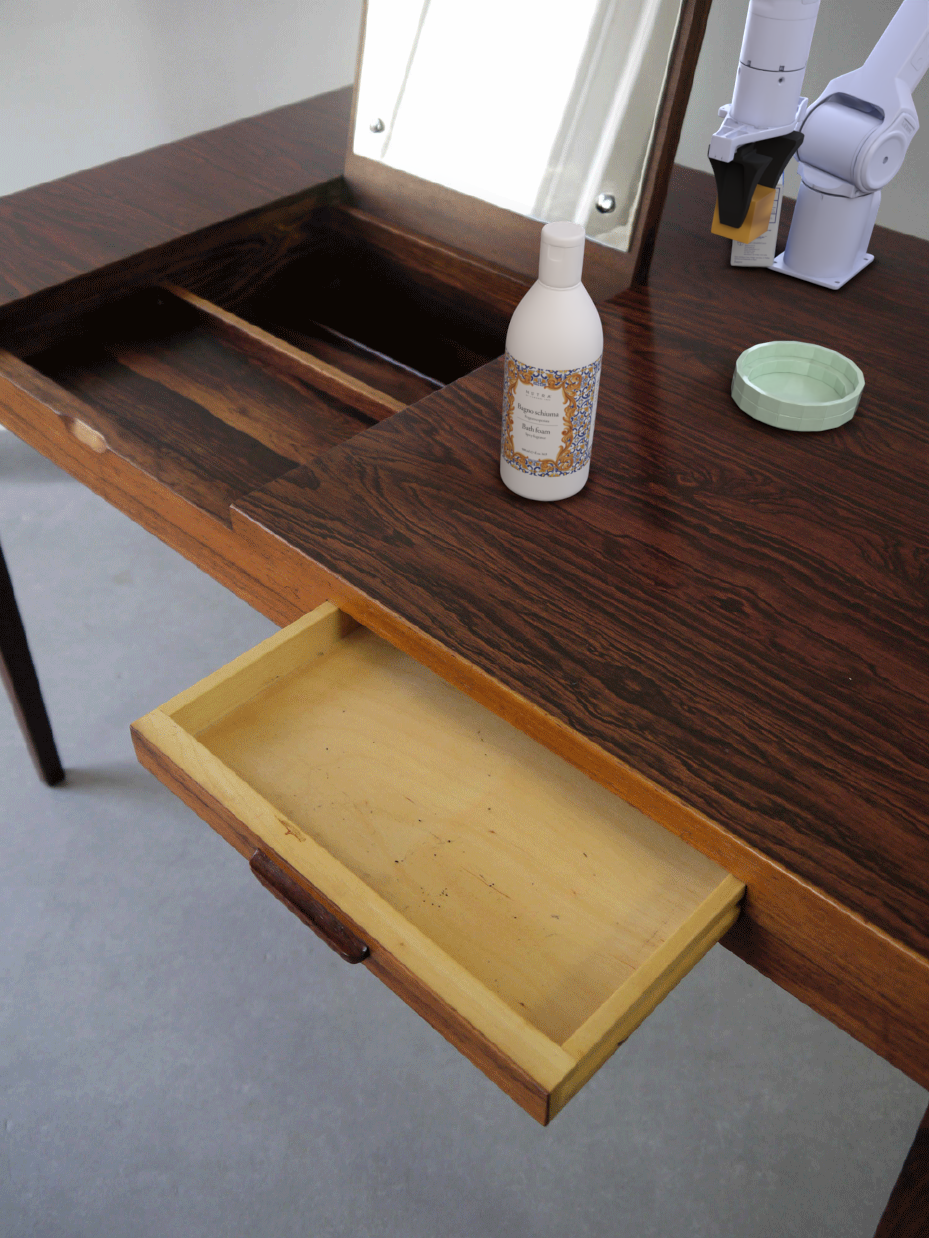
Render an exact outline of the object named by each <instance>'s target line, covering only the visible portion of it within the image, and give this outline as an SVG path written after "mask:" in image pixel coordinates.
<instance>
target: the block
mask: <svg viewBox="0 0 929 1238" xmlns="http://www.w3.org/2000/svg"><path fill="white" fill-rule="evenodd" d="M775 193H776V189H772V188H769V187H765V186H762V185H758V184H757V186H756V189H755V191H754V194H753V197H752V200H751V203H750V207H749V210H748V213H747V216H746V218H745V220H744V222H743V224H742V226H741V227H740V228H738V229H737V228H733V227H730V226H727V225H724V224H721V223H720V221H719V210H718V195H717V194H716V201H715V206H714V211H713V217H712V222H711V229H710V233H711V234H714V235H716V236H720V237H723V238H726V239H730V240H732V241H733V240H736V241H739V242H742V243H745V244H749V243H750V242H752V241H753V240H755V239H756V238H758V237H759V236H761V235H762V234H764V233H765V232H767V230H768V226H769V221H770V217H771V212H772V207H773V203H774V198H775Z"/></svg>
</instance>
